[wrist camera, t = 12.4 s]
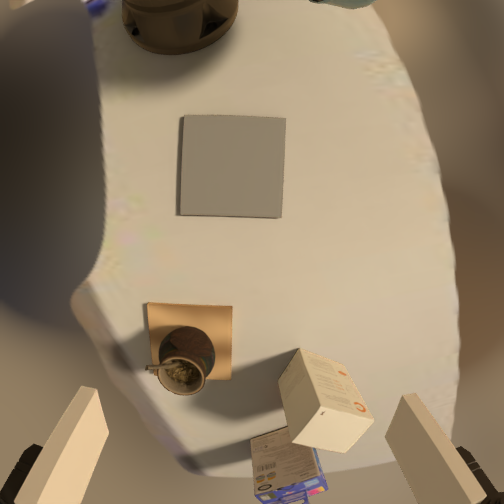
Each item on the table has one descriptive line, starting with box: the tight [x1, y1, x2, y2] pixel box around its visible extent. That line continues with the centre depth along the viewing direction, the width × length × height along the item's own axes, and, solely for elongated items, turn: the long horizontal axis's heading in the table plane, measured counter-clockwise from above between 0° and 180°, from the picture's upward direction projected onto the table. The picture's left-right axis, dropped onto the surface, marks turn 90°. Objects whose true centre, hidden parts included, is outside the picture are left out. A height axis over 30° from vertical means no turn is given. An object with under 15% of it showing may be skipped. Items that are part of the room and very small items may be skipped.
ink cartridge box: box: [250, 427, 328, 504], centre depth 39 cm, size 10×6×14 cm, turn 114°
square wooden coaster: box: [147, 302, 232, 380], centre depth 41 cm, size 11×11×1 cm
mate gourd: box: [145, 326, 215, 395], centre depth 36 cm, size 7×8×10 cm
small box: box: [278, 348, 374, 453], centre depth 37 cm, size 8×6×13 cm
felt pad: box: [180, 115, 286, 218], centre depth 36 cm, size 12×12×1 cm
